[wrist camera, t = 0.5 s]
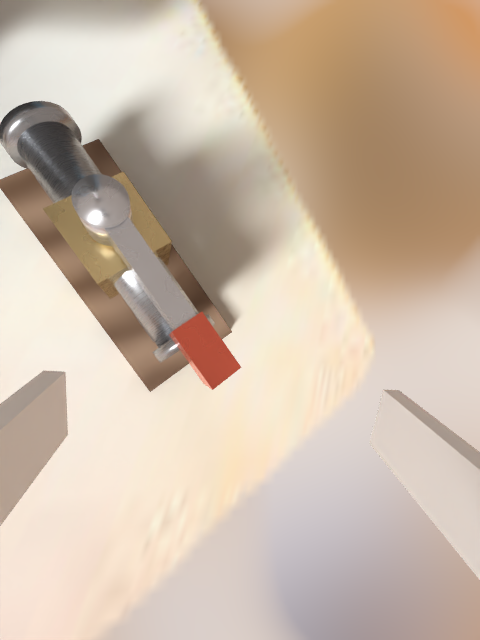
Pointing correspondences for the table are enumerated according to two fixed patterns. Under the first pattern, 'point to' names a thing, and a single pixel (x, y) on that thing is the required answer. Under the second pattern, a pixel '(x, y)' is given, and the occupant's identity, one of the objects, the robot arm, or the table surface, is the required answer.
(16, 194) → the walnut base board
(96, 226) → the valve lever
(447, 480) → the robot arm
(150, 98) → the table surface
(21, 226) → the table surface
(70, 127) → the pipe and valve body
